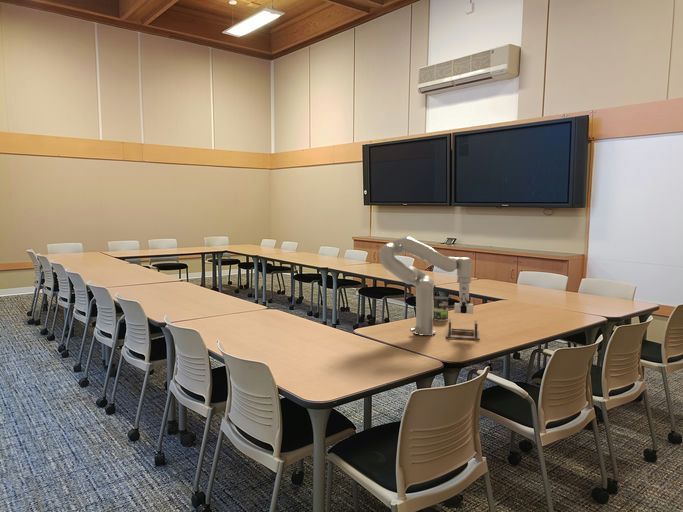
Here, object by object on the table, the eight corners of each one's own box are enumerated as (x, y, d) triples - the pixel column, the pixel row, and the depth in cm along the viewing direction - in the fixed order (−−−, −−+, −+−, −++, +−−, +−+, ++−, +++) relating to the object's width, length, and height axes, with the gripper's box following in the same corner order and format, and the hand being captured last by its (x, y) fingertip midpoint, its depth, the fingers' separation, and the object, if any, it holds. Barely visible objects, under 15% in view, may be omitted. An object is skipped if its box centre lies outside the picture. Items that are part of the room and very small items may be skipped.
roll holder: (445, 338, 262) (446, 324, 261) (446, 330, 277) (446, 317, 276) (479, 340, 258) (480, 325, 257) (478, 332, 273) (479, 318, 272)
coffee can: (451, 320, 303) (451, 298, 301) (437, 321, 299) (438, 299, 297) (442, 316, 312) (442, 295, 310) (428, 318, 308) (429, 296, 307)
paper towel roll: (454, 314, 265) (454, 304, 264) (454, 311, 270) (454, 302, 269) (473, 314, 262) (473, 305, 261) (472, 312, 267) (473, 302, 267)
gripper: (471, 282, 255) (470, 315, 257) (470, 277, 271) (470, 308, 273) (456, 282, 256) (456, 315, 258) (457, 277, 273) (456, 308, 275)
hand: (463, 311), depth 266 cm, fingers closed on paper towel roll, 5 cm apart
